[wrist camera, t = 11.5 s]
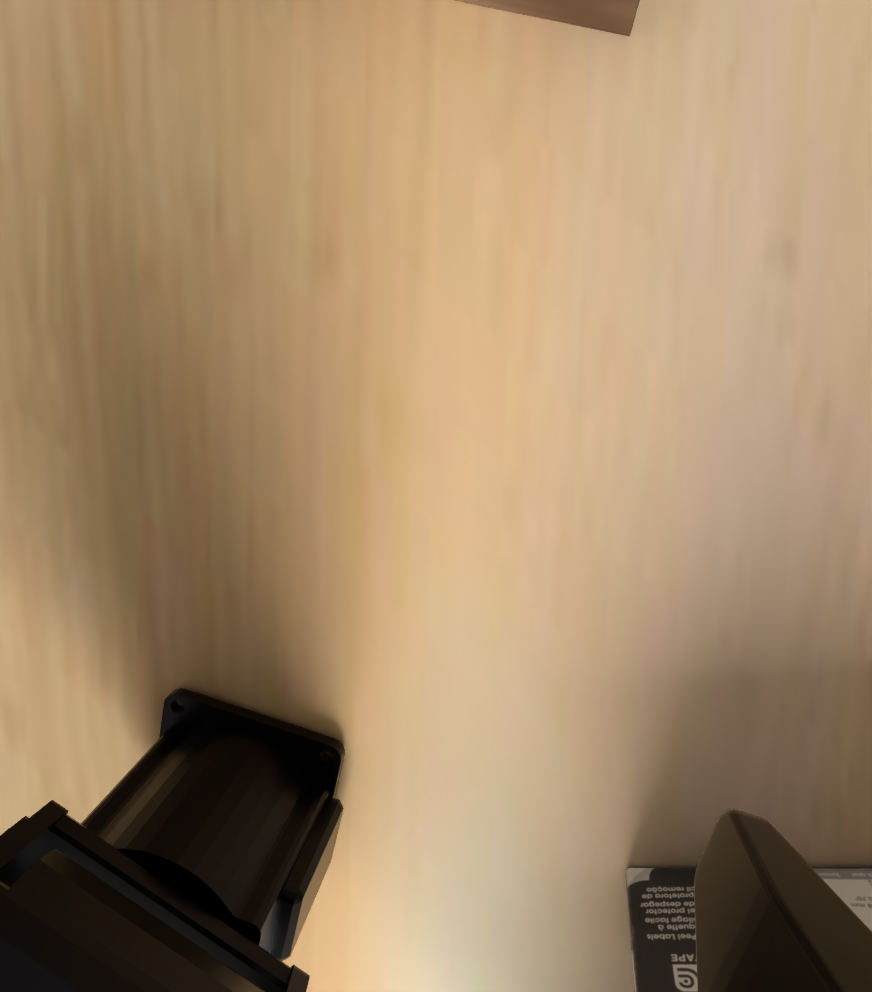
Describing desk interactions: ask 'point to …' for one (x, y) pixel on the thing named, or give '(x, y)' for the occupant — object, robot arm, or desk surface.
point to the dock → (574, 12)
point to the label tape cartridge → (671, 921)
